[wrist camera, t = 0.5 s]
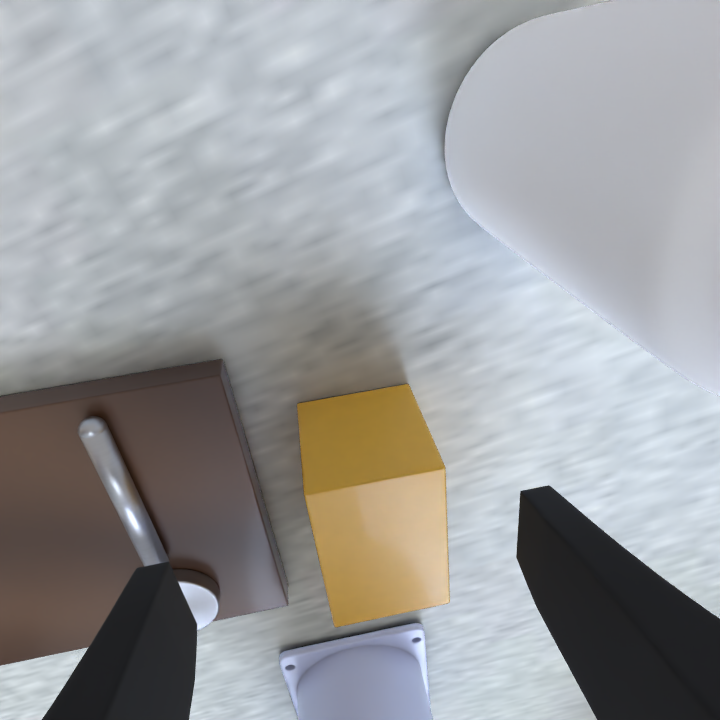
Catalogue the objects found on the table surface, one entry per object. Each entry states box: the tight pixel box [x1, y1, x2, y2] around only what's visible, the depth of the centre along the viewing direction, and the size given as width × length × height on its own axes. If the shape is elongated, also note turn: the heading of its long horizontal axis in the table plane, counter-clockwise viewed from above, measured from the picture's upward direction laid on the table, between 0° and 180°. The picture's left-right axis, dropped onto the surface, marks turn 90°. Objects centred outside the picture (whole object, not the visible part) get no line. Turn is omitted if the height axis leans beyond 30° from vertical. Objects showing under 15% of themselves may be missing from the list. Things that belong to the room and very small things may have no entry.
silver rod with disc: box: [78, 416, 220, 631], centre depth 20 cm, size 12×4×1 cm, turn 7°
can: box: [445, 0, 720, 396], centre depth 11 cm, size 6×6×12 cm
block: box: [297, 384, 450, 627], centre depth 20 cm, size 7×4×5 cm, turn 7°
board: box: [0, 359, 289, 666], centre depth 20 cm, size 13×20×1 cm, turn 97°
